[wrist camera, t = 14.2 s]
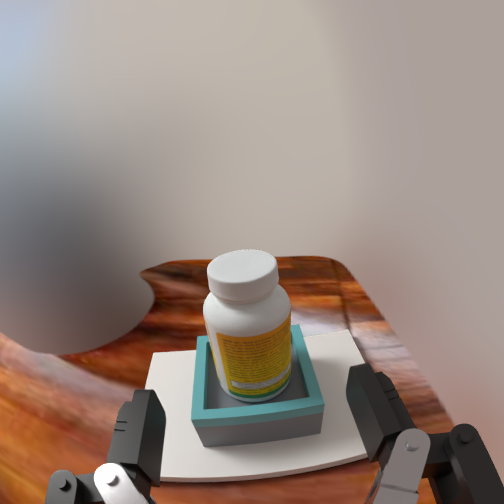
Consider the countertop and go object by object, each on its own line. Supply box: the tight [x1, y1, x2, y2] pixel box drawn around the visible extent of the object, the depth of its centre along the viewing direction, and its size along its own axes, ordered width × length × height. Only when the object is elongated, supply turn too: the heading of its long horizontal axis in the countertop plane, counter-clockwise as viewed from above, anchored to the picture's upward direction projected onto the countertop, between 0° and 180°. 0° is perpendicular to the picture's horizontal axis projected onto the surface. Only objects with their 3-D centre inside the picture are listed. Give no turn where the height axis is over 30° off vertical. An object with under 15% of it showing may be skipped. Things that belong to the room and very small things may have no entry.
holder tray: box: [145, 324, 368, 482], centre depth 22 cm, size 20×14×5 cm
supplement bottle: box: [203, 250, 291, 402], centre depth 19 cm, size 5×5×10 cm
